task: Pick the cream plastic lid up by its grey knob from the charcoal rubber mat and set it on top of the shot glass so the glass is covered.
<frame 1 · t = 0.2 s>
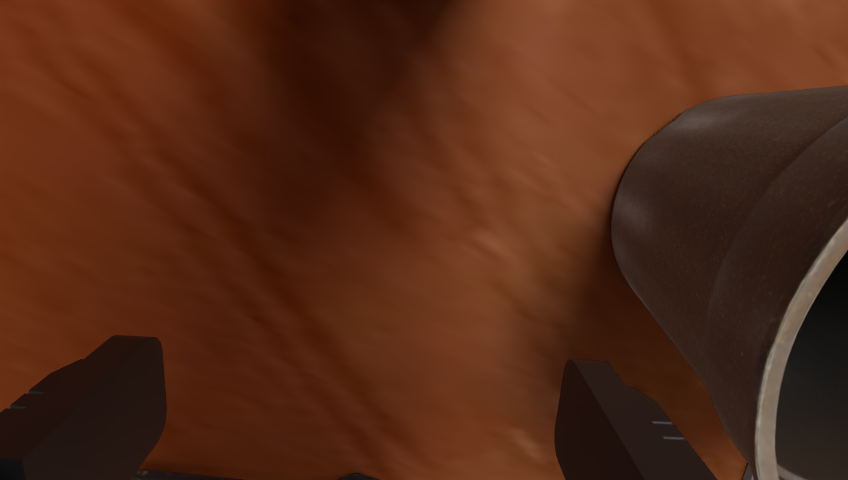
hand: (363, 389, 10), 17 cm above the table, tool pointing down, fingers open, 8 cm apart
plant pot: (720, 208, 28), on the table
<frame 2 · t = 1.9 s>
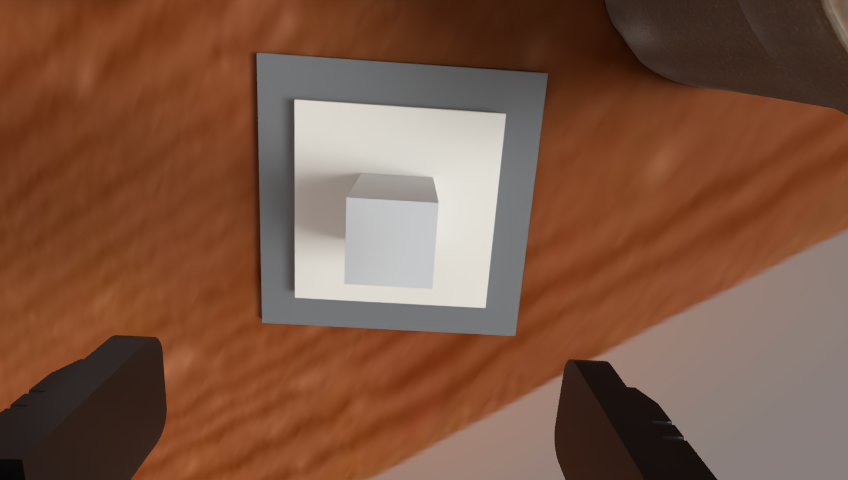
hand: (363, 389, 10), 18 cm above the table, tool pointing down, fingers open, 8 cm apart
lid: (396, 205, 27), point 1 cm above the table, touching mat
mat: (396, 203, 28), on the table
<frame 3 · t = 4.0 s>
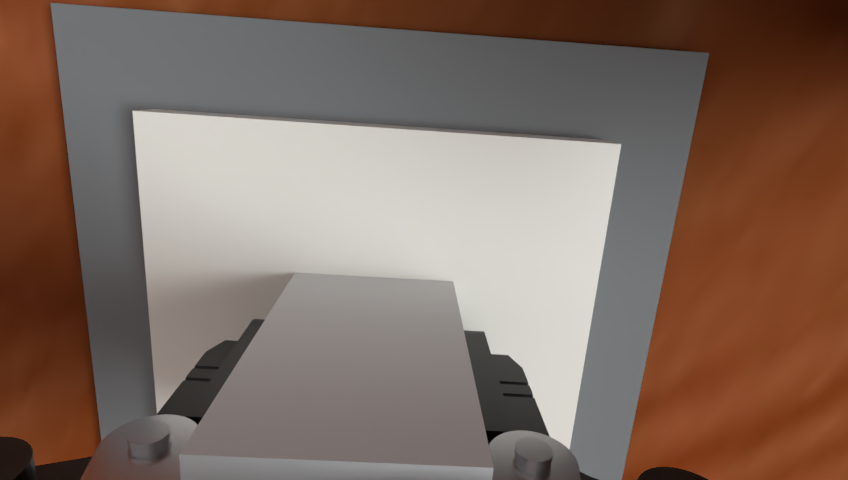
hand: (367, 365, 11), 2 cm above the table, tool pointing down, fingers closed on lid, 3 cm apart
lid: (374, 329, 13), point 1 cm above the table, touching gripper, mat
mat: (375, 319, 14), on the table
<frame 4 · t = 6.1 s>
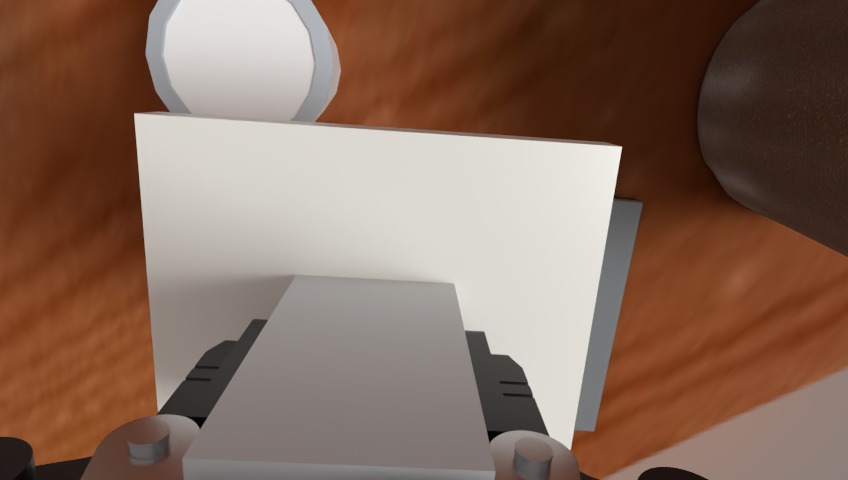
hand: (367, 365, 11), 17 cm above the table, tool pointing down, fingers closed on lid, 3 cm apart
lid: (375, 331, 13), point 15 cm above the table, touching gripper
shot glass: (284, 67, 26), on the table
mat: (492, 310, 30), on the table
plant pot: (811, 99, 27), on the table
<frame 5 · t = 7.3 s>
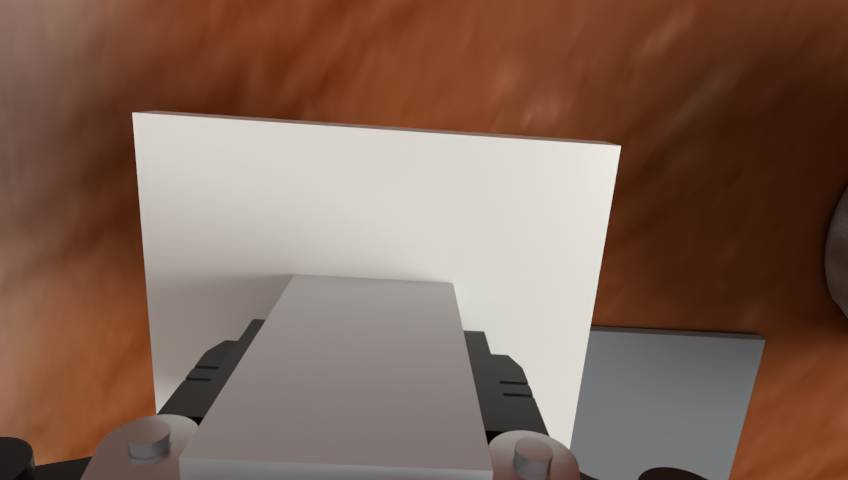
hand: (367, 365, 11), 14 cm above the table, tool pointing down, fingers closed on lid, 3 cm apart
lid: (374, 330, 13), point 12 cm above the table, touching gripper
mat: (602, 445, 29), on the table
when the fingers open (10 cm above the table, at t = 8.2 s): lid drops 1 cm, resting on shot glass.
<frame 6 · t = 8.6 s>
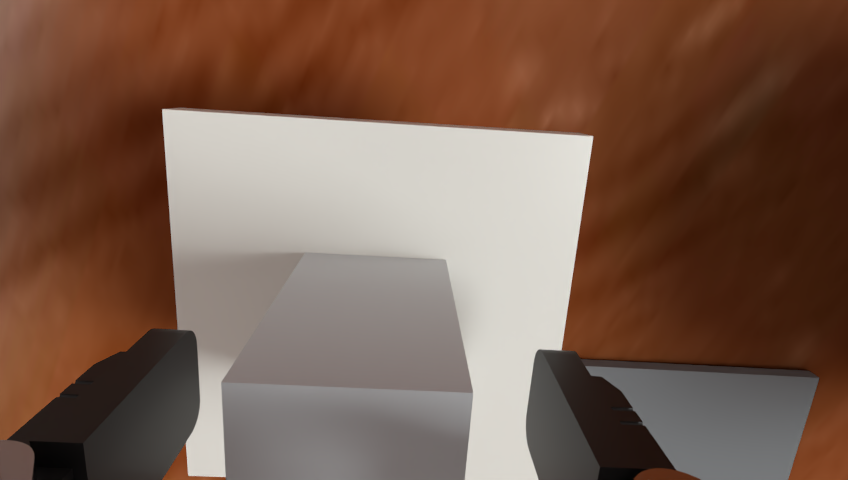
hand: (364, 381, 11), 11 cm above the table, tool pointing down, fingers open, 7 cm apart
lid: (375, 305, 15), point 7 cm above the table, touching shot glass
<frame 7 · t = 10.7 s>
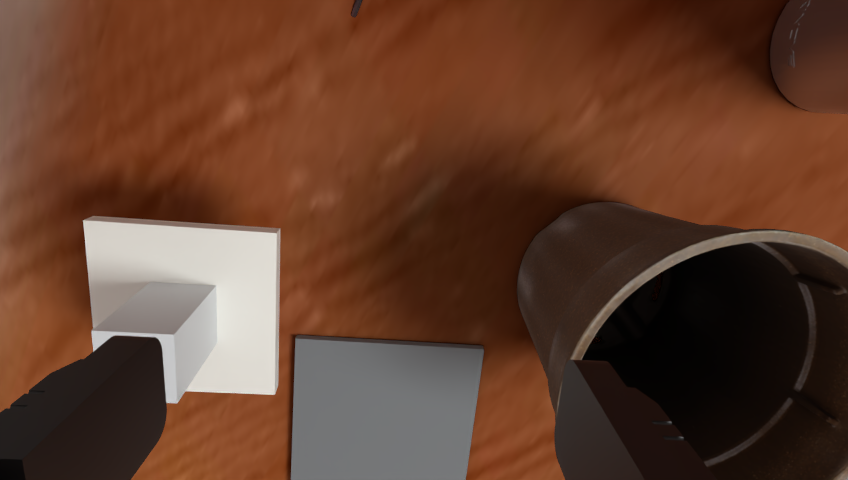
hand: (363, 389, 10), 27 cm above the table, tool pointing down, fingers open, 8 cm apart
lid: (191, 305, 30), point 7 cm above the table, touching shot glass
mat: (384, 420, 41), on the table
plant pot: (597, 278, 39), on the table
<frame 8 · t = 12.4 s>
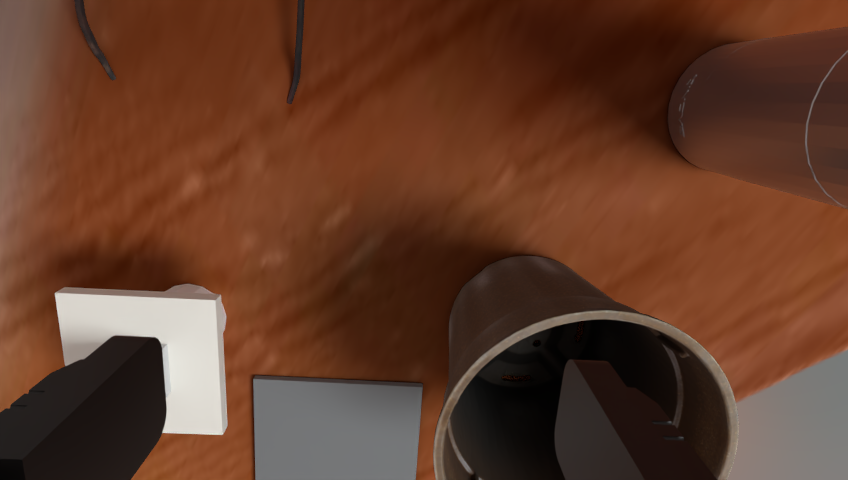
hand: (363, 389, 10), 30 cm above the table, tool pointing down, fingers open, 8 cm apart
lid: (149, 359, 36), point 7 cm above the table, touching shot glass
shot glass: (192, 315, 43), on the table, touching lid
mat: (337, 450, 46), on the table
plant pot: (524, 322, 43), on the table
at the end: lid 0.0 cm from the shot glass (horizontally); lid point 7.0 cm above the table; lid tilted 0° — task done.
